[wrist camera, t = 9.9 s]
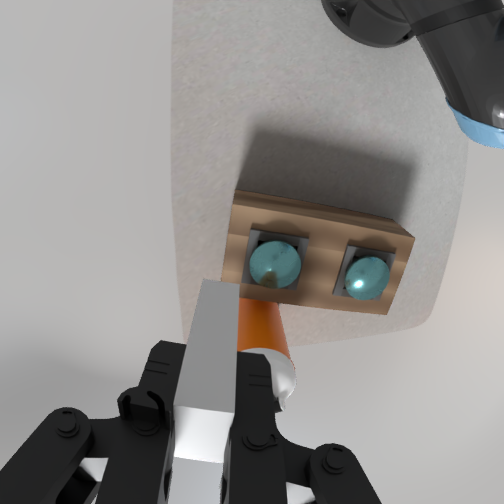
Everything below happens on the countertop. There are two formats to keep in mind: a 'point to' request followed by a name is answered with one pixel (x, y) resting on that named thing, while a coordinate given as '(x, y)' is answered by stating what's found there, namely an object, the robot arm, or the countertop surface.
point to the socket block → (313, 250)
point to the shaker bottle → (267, 344)
